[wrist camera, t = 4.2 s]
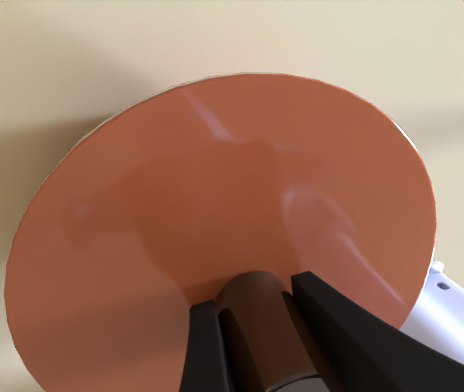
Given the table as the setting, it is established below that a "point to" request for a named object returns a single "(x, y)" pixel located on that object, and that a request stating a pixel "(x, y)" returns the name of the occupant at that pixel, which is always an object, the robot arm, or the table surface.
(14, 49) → the table surface
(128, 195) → the lid
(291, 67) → the table surface
